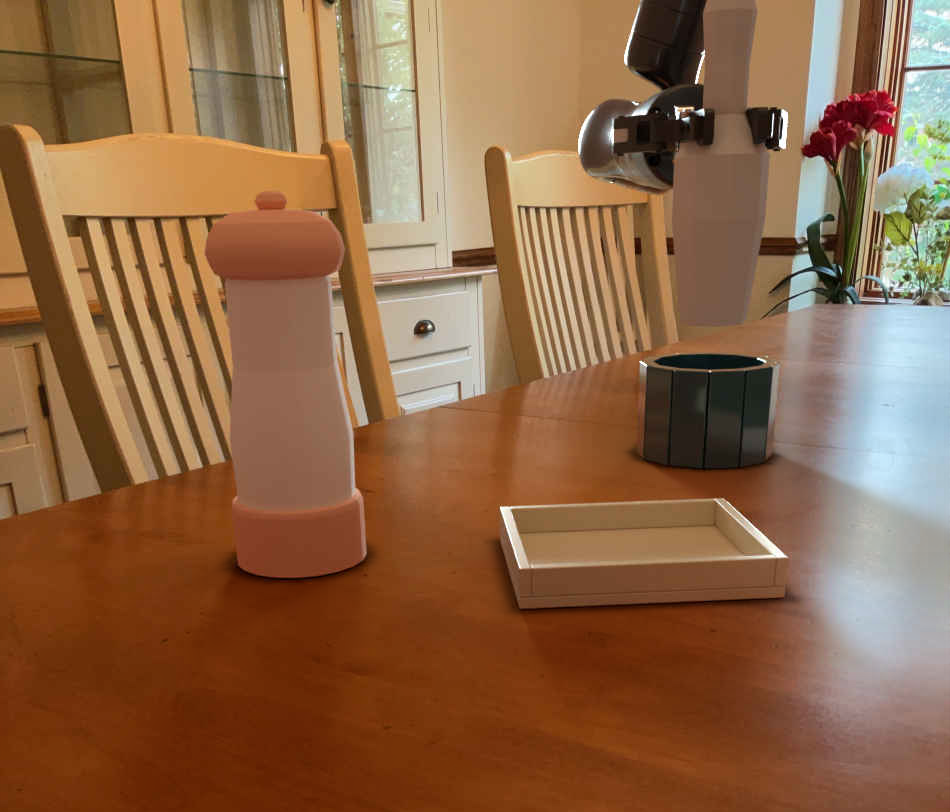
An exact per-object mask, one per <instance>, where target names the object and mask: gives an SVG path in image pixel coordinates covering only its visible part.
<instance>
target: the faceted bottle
mask: <svg viewBox="0 0 950 812" xmlns="http://www.w3.org/2000/svg"><path fill="white" fill-rule="evenodd" d="M757 16H758V8H757V3H756V0H707V2H706V5H705V8H704V12H703V30H704V73H703V85H704V92H703V109H714V110H715V122H714V139H713V143H712V145H702V146H698V145H697V142H696V140H689V141H685V143H684V144H683V146H682V147H681V148H680V150H679V151H678V153H677V154H676V156H675V157H674V180H673V189H672V205H671V207H672V208H671V210H672V211H671V229H672V242H673V253H674V269H675V281H676V294H677V307H678V318H679V319H678V320H679V325H682V326H683V325H684V326H691V327H713V328H715V327H716V328H719V327H732V326H733V327H734V326H741V325H743V324H744V323H745V324H746V322H747V318H748V313H749V312H748V310H749V307H750V302H751V297H752V296H751V295H752V290H753V286H754V280H755V277H756V276H755V275H756V269H757V265H758V260H759V253H760V249H761V244H762V243H761V242H762V238H763V233H764V227H765V223H766V214H767V201H768V200H767V199H768V188H769V187H768V186H769V171H770V159H771V153H770V152H769V151H768V150H767V149H766V147H765V145H764V144H753V139H752V132H751V129H750V125H749V122H748V119H747V116H746V110H747V109H748V96H749V95H748V94H749V81H750V80H749V79H750V67H751V66H750V65H751V57H752V51H753V44H754V36H755V29H756V24H757Z"/></svg>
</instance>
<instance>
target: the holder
mask: <svg viewBox="0 0 950 812" xmlns="http://www.w3.org/2000/svg"><path fill="white" fill-rule="evenodd" d="M780 367H781V361H779V360H777V359H774V358H772V357H769V356H765V355H758V354H757V355H756V354H750V353H740V352H721V351H720V352H717V351H710V352H708V351H700V352H699V351H697V352H695V351H693V352H677V353H676V352H674V353H665V354H658V355H652V356H651V355H650V356H648V357H645V358H644V359H641V360H639V374H638V375H639V378H638V405H637V430H636V431H637V432H636V453H637V455H639V456H640V457H641V458H642V459H643V460H644V461H647V462H648V461H649V462H652V463H656V464H660V465H664V466H670V467H675V468H689V469H700V470H702V469H704V470H711V469H713V470H715V469H737V468H744V467H749V466H753V465H759V464H763V463H765V462H766V461H767V460H768V459H769V458H770V457H771V456H772V455H773V448H774V447H773V446H774V435H775V434H774V433H775V425H776V423H775V422H776V414H777V413H776V412H777V401H778V389H779V380H780V379H779V378H780V377H779V375H780Z"/></svg>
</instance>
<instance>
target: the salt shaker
mask: <svg viewBox="0 0 950 812" xmlns="http://www.w3.org/2000/svg"><path fill="white" fill-rule="evenodd" d="M254 204H255V206H256V208H257V209H253V210H244V211H235V212H231V213H229V214H226V215H225V216H224V217H221V219H218V220H217V221H215V222H213V224H212V226H211V229H210V231H209V233H208V235H207V236H206V241H205V248H204V256H205V258H206V261H207V264H208V265H209V268H210V269H211V271H212V273H213V274H214V275H215V276H217V277H221V278H223V279H225V282H224V290H225V291H224V292H225V301H226V308H227V309H226V311H227V321H228V331H229V341H230V350H231V361H232V373H231V374H232V375H231V377H232V379H231V398H230V399H231V400H230V419H229V420H230V421H229V422H230V423H229V444H230V451H231V459H232V466H233V473H234V479H235V487H236V494H237V495H236V496H235V497H233V498H232V501H231V503H230V504H231V515H232V523H233V533H234V540H235V550H236V551H235V552H236V559H237V566H238V567H239V568H241V569H242V570H243V571H244V572H246V573H250V574H252V575H256V576H261V577H268V578H277V579H280V578H281V579H282V578H283V579H284V578H285V579H287V578H288V579H298V578H309V577H319V576H324V575H329V574H334V573H338V572H341V571H344V570H347V569H350V568H353V567H355V566H357V565H358V564H360V563H361V562H363V561H364V559H365V558H366V556H367V551H368V550H367V539H366V538H367V537H366V536H367V535H366V521H365V520H366V519H365V506H364V497H363V495H362V493H361V491H360V490H359V489H358V488H357V487H356V472H355V471H356V470H355V469H356V467H355V445H354V444H355V443H354V442H355V441H354V430H353V425H352V421H351V417H350V413H349V412H350V411H349V407H348V403H347V399H346V394H345V388H344V385H343V380H342V376H341V370H340V368H339V367H340V365H339V363H338V352H337V351H338V349H337V339H336V338H337V337H336V325H335V324H336V323H335V313H334V299H333V286H332V285H333V284H332V280H331V278H330V275H332V274H334V273H336V272H338V271H340V269H341V267H342V264H343V261H344V257H345V253H346V246H345V245H344V240H343V237H342V234H341V233H340V231H339V230H338V229H337V226H336V225H335V223H333V221H332V220H331V219H329V218H327V217H325V216H323V215H321V214H319V213H317V212H315V211H313V210H305V209H291V208H286V207H287V205H288V199H287V197H286V195H285V194H284V193H282V192H280V191H278V190H267V191H264V190H263V191H261V192H259V193H258V194H256V196H255V199H254Z"/></svg>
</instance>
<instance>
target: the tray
mask: <svg viewBox="0 0 950 812" xmlns="http://www.w3.org/2000/svg"><path fill="white" fill-rule="evenodd" d="M499 541H500V545H501V549H502V552H503V554H504V555H503V556H504V559H505V563H506V567H507V570H508V574H509V576H510V579H511V584H512V587H513V591H514V594H515V598H516V601H517V604H518V608H519V609H520V610H527V609H528V610H529V609H553V608H572V607H573V608H575V607H597V606H617V605H620V606H621V605H645V604H665V603H687V602H688V603H689V602H691V603H692V602H708V601H709V602H711V601H712V602H713V601H735V600H757V599H779V598H785V594H786V585H787V584H786V583H787V575H788V573H787V572H788V563H789V557H788V556H787V555H786V554H785V553H784V552H782V550H780V549H779V547H777V546H776V545H775V544H774V543H773V542H772V541H770V540H769V539H768V538H767V537H766V536H765V535H764V534H763V533H762V532H761V531H759V529H758V528H756V527H755V526H754V524H752V523H751V522H750V521H749V520H748V519H747V518H746V517H745V516H744V515H743V514H741V513H740V512H739V511H738V510H737V509H736V508H735V507H734V506H732V504H730V502H728V501H727V500H726V499H725V498H724V497H718V498H717V497H715V498H690V499H663V500H662V499H661V500H641V501H639V500H638V501H635V500H634V501H613V502H589V503H588V502H586V503H559V504H537V505H536V504H535V505H533V504H532V505H511V506H509V505H508V506H507V505H506V506H500V507H499Z"/></svg>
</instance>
